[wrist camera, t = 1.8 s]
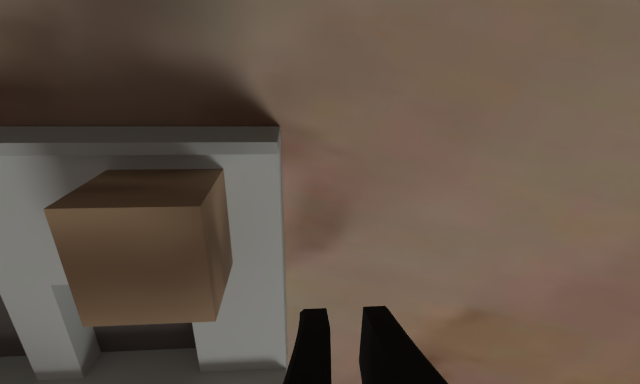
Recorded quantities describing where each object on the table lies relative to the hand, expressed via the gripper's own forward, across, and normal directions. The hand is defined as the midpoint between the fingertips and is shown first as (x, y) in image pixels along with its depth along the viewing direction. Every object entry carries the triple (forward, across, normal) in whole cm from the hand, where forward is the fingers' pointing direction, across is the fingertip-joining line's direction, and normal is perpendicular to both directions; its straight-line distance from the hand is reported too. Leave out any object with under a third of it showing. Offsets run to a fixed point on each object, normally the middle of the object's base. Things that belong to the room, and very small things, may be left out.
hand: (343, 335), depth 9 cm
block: (+7, +7, 0) cm, 10 cm away
